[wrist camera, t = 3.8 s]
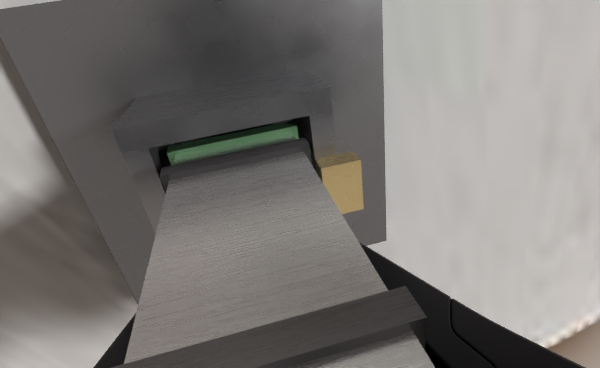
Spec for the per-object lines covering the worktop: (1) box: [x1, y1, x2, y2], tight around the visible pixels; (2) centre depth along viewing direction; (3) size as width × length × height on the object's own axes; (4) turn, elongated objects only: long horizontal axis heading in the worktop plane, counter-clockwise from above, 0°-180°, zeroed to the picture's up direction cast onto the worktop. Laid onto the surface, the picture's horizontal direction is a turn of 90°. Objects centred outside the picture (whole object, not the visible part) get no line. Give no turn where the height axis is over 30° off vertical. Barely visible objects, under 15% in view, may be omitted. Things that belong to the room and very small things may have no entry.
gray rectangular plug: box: [111, 121, 435, 368], centre depth 9 cm, size 4×4×10 cm
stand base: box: [0, 0, 386, 304], centre depth 14 cm, size 14×14×6 cm
